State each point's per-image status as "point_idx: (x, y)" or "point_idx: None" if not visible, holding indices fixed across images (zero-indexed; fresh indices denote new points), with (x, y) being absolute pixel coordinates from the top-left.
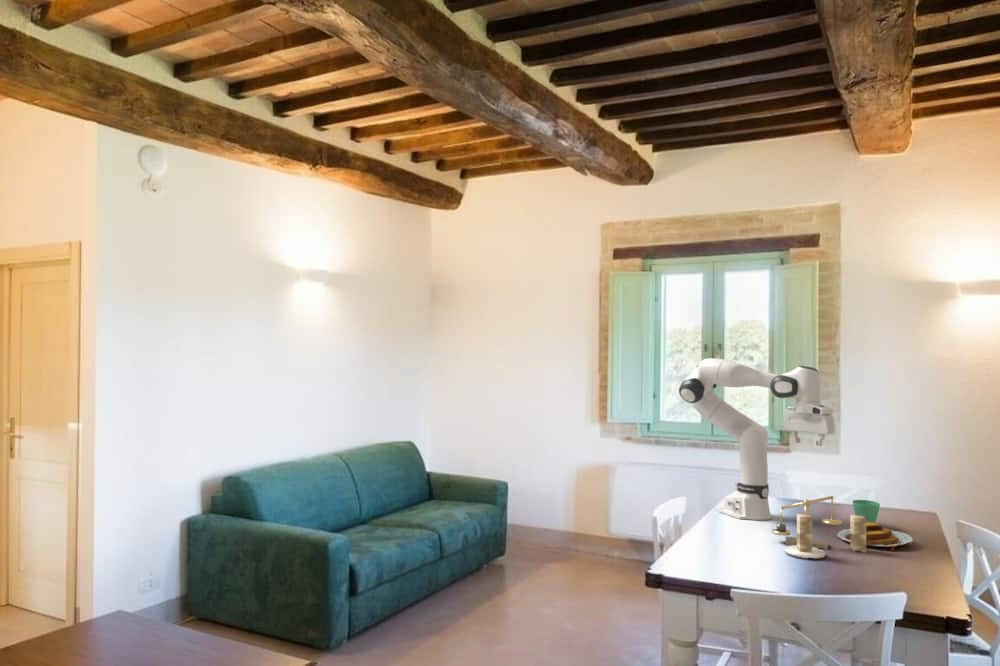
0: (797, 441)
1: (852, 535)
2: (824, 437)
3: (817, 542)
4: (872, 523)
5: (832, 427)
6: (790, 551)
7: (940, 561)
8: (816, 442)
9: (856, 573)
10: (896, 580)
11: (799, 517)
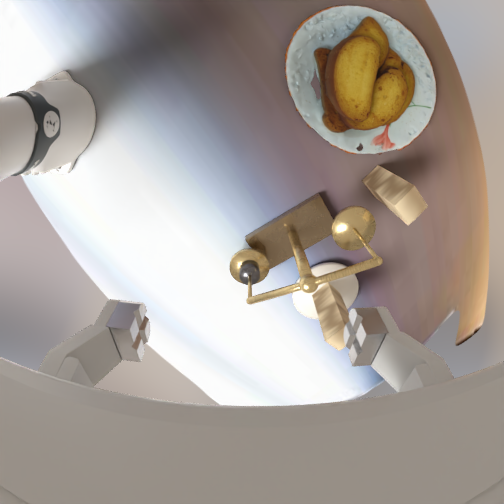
0: (146, 339)
1: (382, 200)
2: (435, 356)
3: (314, 227)
4: (362, 49)
5: None
6: (313, 315)
7: (474, 138)
8: (354, 354)
9: (408, 301)
10: (447, 284)
11: (337, 347)
